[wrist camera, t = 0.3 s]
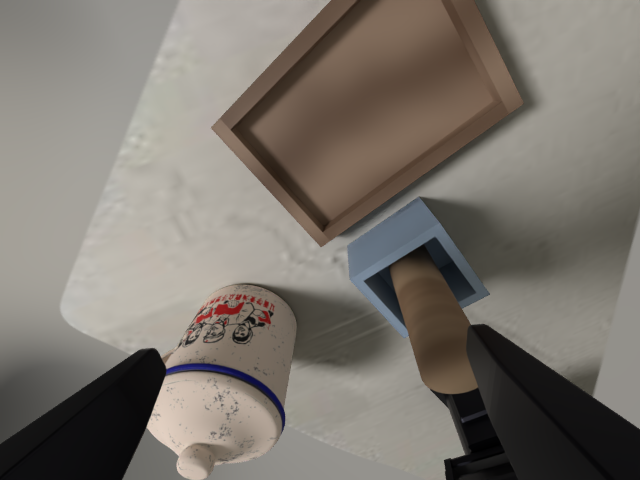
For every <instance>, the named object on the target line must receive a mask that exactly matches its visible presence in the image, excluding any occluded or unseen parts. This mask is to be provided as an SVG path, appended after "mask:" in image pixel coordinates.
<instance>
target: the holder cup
mask: <svg viewBox="0 0 640 480" xmlns="http://www.w3.org/2000/svg"><path fill="white" fill-rule="evenodd" d="M422 244H424V245H425V247H426V248H427V250H428V252H429V253H430V255H431V257H432V259H433V260H434V262H435V264H436V265H437V267H438V269H439V271H440V272H441V274H442V276H443V277H444V279H445V281H446V283H447V284H448V286H449V288H450V290H451V291H452V293H453V295H454V296H455V298H456V300H457V302H458V303H459V305H460V307H461V308H464V307H466V306H468V305H470V304H472V303H474V302H476V301H478V300H480V299H482V298H484V297H486V296H488V295H490V293H489V292H488V291H487V289H486V288H485V286H484V285H483V284H482V282H481V281H480V279H479V278H478V276H477V275H476V274H475V272H474V271H473V269H472V268H471V266H470V265H469V264H468V262H467V261H466V259H465V258H464V257H463V255H462V254H461V252H460V251H459V249H458V248H457V247H456V245H455V244H454V242H453V241H452V239H451V238H450V237H449V235H448V234H447V232H446V231H445V230H444V228H443V227H442V225H441V224H440V222H439V221H438V220H437V219H436V217H435V216H434V215H433V214H432V212H431V211H430V210H429V209H428V208H427V206H426V205H425V204H424V203H423V201H422V200H421V199H420V198H419V197H418V198H416V199H415V200H413V201H412V202H410V203H409V204H407V205H406V206H405V207H403V208H402V209H400V210H399V211H397V212H396V213H394V214H393V215H391V216H390V217H388V218H387V219H386V220H384V221H383V222H381V223H380V224H378V225H377V226H375V227H374V228H372V229H371V230H369V231H368V232H367V233H365V234H364V235H362V236H361V237H359V238H358V239H356V240H355V241H353V242H352V243H350V244H349V245H348V246H347V247H348V262H349V276H350V280H351V281H352V283H353V284H354V285H355V286H356V287H357V288H358V289H359V290H360V291H361V292H362V293H363V294H364V296H365V297H366V298H367V299H368V300H369V301H370V302H371V303H372V304H373V305H374V306H375V307H376V308H377V310H378V311H379V312H380V313H381V314H382V315H383V316H384V317H385V318H386V319H387V320H388V321H389V323H390V324H391V325H392V326H393V327H394V328H395V329H396V330H397V331H398V332H399V333H400V334H401V335H402V337H403V338H406V337H408V336H409V335H408V331H407V328H406V325H405V321H404V318H403V315H402V311H401V308H400V305H399V301H398V298H397V295H396V291H395V288H394V285H393V281H392V278H391V274H390V271H389V268H388V265H390V264H392V263H393V262H395V261H396V260H398V259H400V258H401V257H403V256H405V255H406V254H408V253H409V252H411V251H413V250H414V249H416V248H417V247H419V246H421V245H422Z"/></svg>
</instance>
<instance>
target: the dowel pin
mask: <svg viewBox="0 0 640 480" xmlns="http://www.w3.org/2000/svg"><path fill="white" fill-rule="evenodd" d="M388 268H389V271H390V274H391V278H392V281H393V285H394V288H395V291H396V295H397V298H398V301H399V305H400V308H401V311H402V315H403V318H404V321H405V325H406V328H407V331H408V335H409V338H410V342H411V345H412V348H413V352H414V355H415V358H416V362H417V365H418V368H419V372H420V375H421V378H422V381H423V382H424V384H425V385H426V386H427V387H429V388H430V389H432V390H434V391H436V392H440V393H445V394H459V393H465V392H468V391H471V390H474V389H476V388H478V385H477V382H476V379H475V377H474V374H473V371H472V368H471V365H470V362H469V360H468V357H467V352H466V342H467V330H468V327H469V326H470V325H471V324H470V322H469V320H468V319H467V317H466V315H465V314H464V312H463V310H462V308H461V307H460V305H459V303H458V302H457V300H456V298H455V296H454V295H453V293H452V291H451V290H450V288H449V286H448V284H447V283H446V281H445V279H444V277H443V276H442V274H441V272H440V271H439V269H438V267H437V265H436V264H435V262H434V260H433V259H432V257H431V255H430V253H429V252H428V250H427V248H426V247H425V245H424V244H422V245H421V246H419V247H417V248H416V249H414V250H413V251H411V252H409V253H408V254H406V255H405V256H403V257H401V258H400V259H398V260H396V261H395V262H393V263H392V264H390V265H388Z"/></svg>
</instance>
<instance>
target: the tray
mask: <svg viewBox="0 0 640 480" xmlns="http://www.w3.org/2000/svg"><path fill="white" fill-rule="evenodd" d="M523 104H524V103H523V101H522V98H521V96H520V94H519V92H518V90H517V88H516V86H515V84H514V82H513V80H512V78H511V76H510V74H509V72H508V70H507V67H506V65H505V63H504V61H503V59H502V57H501V55H500V53H499V51H498V49H497V47H496V45H495V43H494V41H493V39H492V36H491V34H490V32H489V30H488V28H487V26H486V24H485V22H484V20H483V18H482V16H481V14H480V12H479V10H478V8H477V5H476V3H475V1H474V0H331V1H330V2H329V3H328V4H327V5H326V6H325V7H324V8H323V9H322V10H321V12H320V13H319V14H318V15H317V16H316V17H315V18H314V19H313V20H312V21H311V22H310V23H309V24H308V25H307V26H306V27H305V28H304V30H303V31H302V32H301V33H300V34H299V35H298V36H297V37H296V38H295V39H294V40H293V41H292V42H291V43H290V44H289V45H288V47H287V48H286V49H285V50H284V51H283V52H282V53H281V54H280V55H279V56H278V57H277V58H276V59H275V60H274V61H273V62H272V63H271V65H270V66H269V67H268V68H267V69H266V70H265V71H264V72H263V73H262V74H261V75H260V76H259V77H258V78H257V79H256V80H255V81H254V83H253V84H252V85H251V86H250V87H249V88H248V89H247V90H246V91H245V92H244V93H243V94H242V95H241V96H240V97H239V98H238V99H237V101H236V102H235V103H234V104H233V105H232V106H231V107H230V108H229V109H228V110H227V111H226V112H225V113H224V114H223V115H222V116H221V118H220V119H219V120H218V121H217V122H216V123H215V124H214V125H213V126H212V127H211V129H212V130H213V131H214V132H215V133H216V134H217V135H218V136H219V137H220V138H221V139H222V140H223V142H224V143H225V144H226V145H227V146H228V147H229V148H230V149H231V150H232V151H233V152H234V153H235V155H236V156H237V157H238V158H239V159H240V160H241V161H242V162H243V163H244V164H245V165H246V166H247V168H248V169H249V170H250V171H251V172H252V173H253V174H254V175H255V176H256V177H257V178H258V179H259V181H260V182H261V183H262V184H263V185H264V186H265V187H266V188H267V189H268V190H269V191H270V192H271V194H272V195H273V196H274V197H275V198H276V199H277V200H278V201H279V202H280V203H281V204H282V205H283V207H284V208H285V209H286V210H287V211H288V212H289V213H290V214H291V215H292V216H293V217H294V218H295V220H296V221H297V222H298V223H299V224H300V225H301V226H302V227H303V228H304V229H305V230H306V231H307V233H308V234H309V235H310V236H311V237H312V238H313V239H314V240H315V241H316V242H317V243H318V244H319V246H320V247H322V246H324V245H325V244H326V243H328V242H329V241H331V240H332V239H334V238H335V237H336V236H338V235H339V234H341V233H342V232H343V231H345V230H346V229H348V228H349V227H350V226H352V225H353V224H355V223H356V222H358V221H359V220H360V219H362V218H363V217H365V216H366V215H367V214H369V213H370V212H372V211H373V210H374V209H376V208H377V207H379V206H380V205H382V204H383V203H384V202H386V201H387V200H389V199H390V198H391V197H393V196H394V195H396V194H397V193H398V192H400V191H401V190H403V189H404V188H406V187H407V186H408V185H410V184H411V183H413V182H414V181H415V180H417V179H418V178H420V177H421V176H422V175H424V174H425V173H427V172H428V171H430V170H431V169H432V168H434V167H435V166H437V165H438V164H439V163H441V162H442V161H444V160H445V159H446V158H448V157H449V156H451V155H452V154H454V153H455V152H456V151H458V150H459V149H461V148H462V147H463V146H465V145H466V144H468V143H469V142H470V141H472V140H473V139H475V138H476V137H478V136H479V135H480V134H482V133H483V132H485V131H486V130H487V129H489V128H490V127H492V126H493V125H494V124H496V123H497V122H499V121H500V120H502V119H503V118H504V117H506V116H507V115H509V114H510V113H511V112H513V111H514V110H516V109H517V108H518V107H520V106H521V105H523Z"/></svg>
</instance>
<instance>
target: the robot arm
mask: <svg viewBox="0 0 640 480" xmlns="http://www.w3.org/2000/svg"><path fill="white" fill-rule="evenodd" d="M466 352H467V357H468V360H469V362H470V365H471V368H472V371H473V374H474V377H475V379H476V382H477V385H478V388H476V389H474V390H471V391H468V392H465V393H459V394H445V393H440V392H436V391H434V390H432V389H430V390H431V391H432V392H433V393H434V394H435V395H436V396H437V397H438V398H439V399H440V400H441V401H442V402H443V403H444V404H445V405H446V406H447V407H448V408H449V410H450V413H451V416H452V419H453V422H454V424H455V427H456V430H457V433H458V436H459V438H460V441H461V444H462V447H463V450H464V452H465V455H464V456H460V457H457V458H454V459H451V458H449V459H446V460H444V463H445V469H446V471H445V475H446V480H640V429H639V428H637V427H636V426H634V425H633V424H631V423H630V422H629V421H627V420H626V419H624V418H623V417H621V416H620V415H618V414H617V413H615V412H614V411H612V410H611V409H609V408H608V407H606V406H605V405H603V404H602V403H601V402H599V401H597V400H596V399H595V398H593V397H592V396H590V395H589V394H587V393H586V392H585V391H583V390H582V389H580V388H579V387H577V386H576V385H574V384H573V383H571V382H570V381H568V380H567V379H565V378H564V377H563V376H561V375H560V374H558V373H557V372H555V371H554V370H552V369H551V368H549V367H548V366H546V365H545V364H544V363H542V362H541V361H539V360H538V359H536V358H535V357H533V356H532V355H530V354H529V353H527V352H526V351H524V350H523V349H522V348H520V347H519V346H517V345H516V344H514V343H513V342H511V341H510V340H508V339H507V338H505V337H504V336H502V335H501V334H500V333H498V332H497V331H495V330H494V329H492V328H491V327H489V326H488V325H485V324H477V325H470V326H469V327H468V330H467V342H466ZM166 372H167V369H166V365H165V364H164V362H163V360H162V358H161V356H160V354H159V353H158V351H157V350H156V349H155V348H146V349H140V350H138V351H137V352H135V353H134V354H132V355H131V356H130V357H128V358H127V359H125V360H124V361H122V362H121V363H119V364H118V365H116V366H115V367H113V368H112V369H110V370H109V371H107V372H106V373H104V374H103V375H102V376H100V377H99V378H97V379H96V380H94V381H93V382H91V383H90V384H88V385H87V386H85V387H84V388H82V389H81V390H79V391H78V392H76V393H75V394H74V395H72V396H71V397H69V398H68V399H66V400H65V401H63V402H62V403H60V404H59V405H57V406H56V407H54V408H53V409H51V410H50V411H48V412H47V413H45V414H44V415H42V416H41V417H39V418H38V419H36V420H35V421H33V422H32V423H31V424H29V425H28V426H26V427H25V428H23V429H22V430H20V431H19V432H17V433H16V434H14V435H13V436H11V437H10V438H8V439H7V440H5V441H4V442H2V443H1V444H0V480H122V479H123V477H124V475H125V473H126V470H127V468H128V466H129V464H130V462H131V460H132V458H133V456H134V453H135V451H136V449H137V447H138V445H139V443H140V440H141V438H142V436H143V434H144V432H145V429H146V427H147V425H148V422H149V419H150V417H151V414H152V411H153V409H154V406H155V403H156V401H157V398H158V395H159V392H160V390H161V387H162V384H163V382H164V379H165V376H166Z"/></svg>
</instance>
